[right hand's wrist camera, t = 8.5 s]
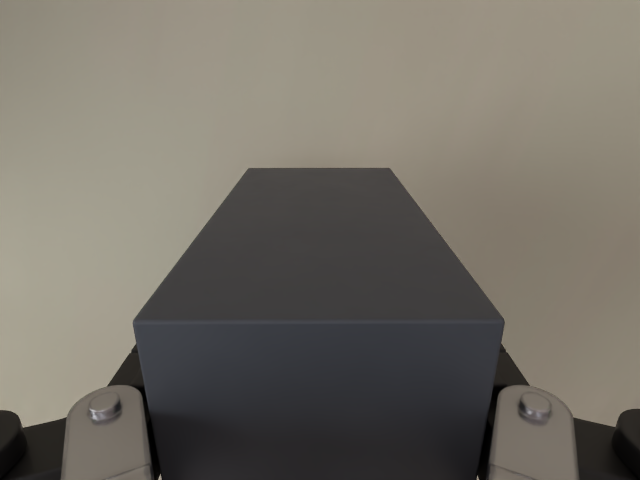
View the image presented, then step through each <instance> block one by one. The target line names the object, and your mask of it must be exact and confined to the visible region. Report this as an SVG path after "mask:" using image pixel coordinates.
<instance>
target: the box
mask: <svg viewBox="0 0 640 480" xmlns="http://www.w3.org/2000/svg"><path fill="white" fill-rule="evenodd" d="M504 324H505V322H504V319H503V317H502V316H501V315H500V313H499V312H498V311H497V309H496V308H495V307H494V305H493V304H492V303H491V301H490V300H489V299H488V297H487V296H486V295H485V293H484V292H483V291H482V290H481V288H480V287H479V286H478V284H477V283H476V282H475V280H474V279H473V278H472V276H471V275H470V274H469V272H468V271H467V270H466V268H465V267H464V266H463V264H462V263H461V262H460V260H459V259H458V258H457V256H456V255H455V254H454V252H453V251H452V250H451V249H450V247H449V246H448V245H447V243H446V242H445V241H444V239H443V238H442V237H441V235H440V234H439V233H438V231H437V230H436V229H435V227H434V226H433V225H432V223H431V222H430V221H429V219H428V218H427V217H426V215H425V214H424V213H423V211H422V210H421V209H420V207H419V206H418V205H417V204H416V202H415V201H414V200H413V198H412V197H411V196H410V194H409V193H408V192H407V190H406V189H405V188H404V186H403V185H402V184H401V182H400V181H399V180H398V178H397V177H396V176H395V174H394V173H393V172H392V170H391V169H390V168H249V169H248V170H247V171H246V172H245V174H244V175H243V176H242V178H241V179H240V180H239V182H238V183H237V184H236V186H235V187H234V188H233V190H232V191H231V192H230V194H229V195H228V196H227V197H226V199H225V200H224V201H223V203H222V204H221V205H220V207H219V208H218V209H217V211H216V212H215V213H214V215H213V216H212V217H211V219H210V220H209V221H208V222H207V224H206V225H205V226H204V228H203V229H202V230H201V232H200V233H199V234H198V236H197V237H196V238H195V240H194V241H193V242H192V244H191V245H190V246H189V248H188V249H187V250H186V251H185V253H184V254H183V255H182V257H181V258H180V259H179V261H178V262H177V263H176V265H175V266H174V267H173V269H172V270H171V271H170V273H169V274H168V275H167V276H166V278H165V279H164V280H163V282H162V283H161V284H160V286H159V287H158V288H157V290H156V291H155V292H154V294H153V295H152V296H151V298H150V299H149V300H148V302H147V303H146V304H145V305H144V307H143V308H142V309H141V311H140V312H139V313H138V315H137V316H136V317H135V319H134V320H133V327H134V333H135V338H136V343H137V349H138V354H139V360H140V365H141V370H142V376H143V381H144V386H145V392H146V397H147V402H148V408H149V413H150V419H151V424H152V429H153V435H154V440H155V445H156V451H157V456H158V461H159V467H160V472H161V478H162V480H476V479H477V473H478V468H479V462H480V457H481V451H482V446H483V440H484V435H485V429H486V423H487V418H488V412H489V407H490V401H491V396H492V390H493V385H494V379H495V374H496V368H497V362H498V357H499V351H500V346H501V340H502V335H503V329H504Z"/></svg>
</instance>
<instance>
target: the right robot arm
mask: <svg viewBox="0 0 640 480" xmlns="http://www.w3.org/2000/svg"><path fill="white" fill-rule="evenodd" d="M160 473H161V472H160V467H159V461H158V456H157V451H156V445H155V440H154V435H153V429H152V424H151V419H150V413H149V408H148V402H147V397H146V392H145V386H144V381H143V376H142V370H141V365H140V360H139V354H138V349H137V343H136V345H135V346H134V348H133V349H132V352H131V353H130V354H129V355H128V357H127V358H126V359H125V361H124V362H123V364H122V365H121V367H120V368H119V370H118V371H117V373H116V374H115V376H114V377H113V379H112V380H111V381H110V383H109V384H108V386H107V387H104V388H101V389H98V390H96V391H93V392H91V393H89V394H88V395H86V396H84V397H83V398H81V399H80V400H79V401H78V402H77V403H76V404H75V405H74V406H73V407H72V408H71V410H70V411H69V413H68V415H67V417H66V418H63V419H59V420H56V421H51V422H47V423H43V424H38V425H34V426H30V427H25V428H23V427H22V424H21V421H20V419H19V417H18V415H16V414H15V413H13V412H11V411H5V410H0V480H158V478H159V476H160ZM477 475H478V478H479V480H640V409H631V410H627V411H624V412H623V413H621V414H620V416H619V418H618V421H617V424H616V427H611V426H607V425H603V424H598V423H594V422H590V421H585V420H581V419H577V418H573V415H572V413H571V411H570V410H569V408H568V407H567V406H566V405H565V404H564V403H563V402H562V401H561V400H560V399H559V398H557V397H556V396H554V395H552V394H551V393H549V392H547V391H544V390H542V389H539V388H536V387H532V386H530V385H529V384H528V382H527V381H526V379H525V378H524V376H523V375H522V373H521V372H520V371H519V369H518V368H517V366H516V365H515V363H514V362H513V360H512V359H511V357H510V356H509V354H508V353H506V350H505V348H504V347H503V345H502V344H501V346H500V351H499V357H498V362H497V368H496V374H495V379H494V385H493V390H492V396H491V401H490V407H489V412H488V418H487V423H486V429H485V435H484V440H483V446H482V451H481V457H480V462H479V468H478V473H477Z"/></svg>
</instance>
